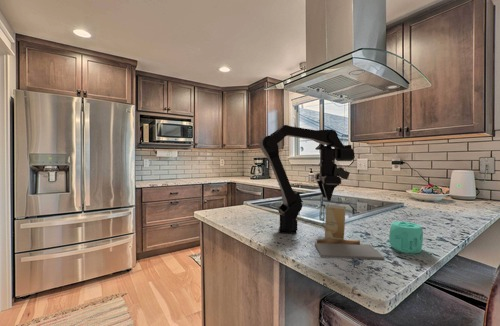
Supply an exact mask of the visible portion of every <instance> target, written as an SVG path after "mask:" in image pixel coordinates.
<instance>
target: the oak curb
mask: <svg viewBox="0 0 500 326" xmlns="http://www.w3.org/2000/svg"><path fill="white" fill-rule="evenodd" d="M316 243H334V244H361V241H360V240H359V239H344V240H342V239H325V238H316Z"/></svg>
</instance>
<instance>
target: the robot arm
mask: <svg viewBox="0 0 500 326" xmlns="http://www.w3.org/2000/svg"><path fill="white" fill-rule="evenodd" d="M286 137H291V138H298V139H303V140H311V141H314V142H315V143H318V146H316V147H315V150H316V151H320V153H319V154H320V155H319V156H320V160H319V161H320V162H319V164H318V166H319V172H317V173H316V174H315V179H314V180H316V183H317V186H318V188H319V191H320V193H321V195H322V198H324V199H326V201H327V202H331V200H332V196H333V193H334V192H335V189H336V187H338V186H340V185H341V184H342V179H343V180H348V179H349V176H350V173H351V172H350V171H347V170H345V168H343V167H340V166H338V164H337V163H336V161H337V162H352V161H354V159H355V154H356V153H355V151H354V149H353V148H352V145H351V144H343V142H342V140H341V139H340V138H339V135H338V133H337V131H336V130H334V129H310V128H304V127H303V128H302V127H298V126H291V125H288V124H284V125H282V126H280V127H279V128H278V129H277V130H274V132H273V133H271V134H269V135H266V136H263V137H261V138H260V140H259V143H258V145H259V146H258V147H259V148H260V150H261V151H262V153H263V154H264V156H265V157H266V158H267V160H268V161H269V164H270V166H271V170H272V171H273V174H274V176H275V178H276V181H277V184H278V185H279V189H280V190H281V200H282V204H280V206H279V207H278V208H277V211H278V214H279V227H278V230H279V233H280V234H297V231H298V215H299V213H300V211H302V208H303V202H304V201H303V200H302V198H301V195H300V192H299V191H296V190H293V188H292V187H293V186H292V185H291V182H290V180H289V178H288V175H287V173H286V170H285V168H284V166H283V163H282V160H281V158H280V147H279V145H278V144H279V143H280V142H281V141H282V140H284V139H285V138H286Z"/></svg>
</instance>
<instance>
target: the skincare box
mask: <svg viewBox="0 0 500 326" xmlns="http://www.w3.org/2000/svg"><path fill="white" fill-rule="evenodd" d="M345 222H346V206H345V205H344V206H343V205H335V204H327V205H326V207H325V222H324V223H325V225H324V239H342V240H345V227H346V226H345V225H346V223H345Z"/></svg>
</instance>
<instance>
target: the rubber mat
mask: <svg viewBox="0 0 500 326" xmlns="http://www.w3.org/2000/svg"><path fill="white" fill-rule="evenodd" d="M314 246H315V248H316V249H317V252H318V253H319V255H320V257H321V258H334V259H335V258H337V259H339V258H340V259H360V260H361V259H363V260H366V259H367V260H385V257H384V256H383V255H382V253H380V252H379V251H378V250H377V249H375V248H374V246H372V245H371V244H366V243H365V244H364V243H363V244H361V243H360V244H334V243H317V242H314Z"/></svg>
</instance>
